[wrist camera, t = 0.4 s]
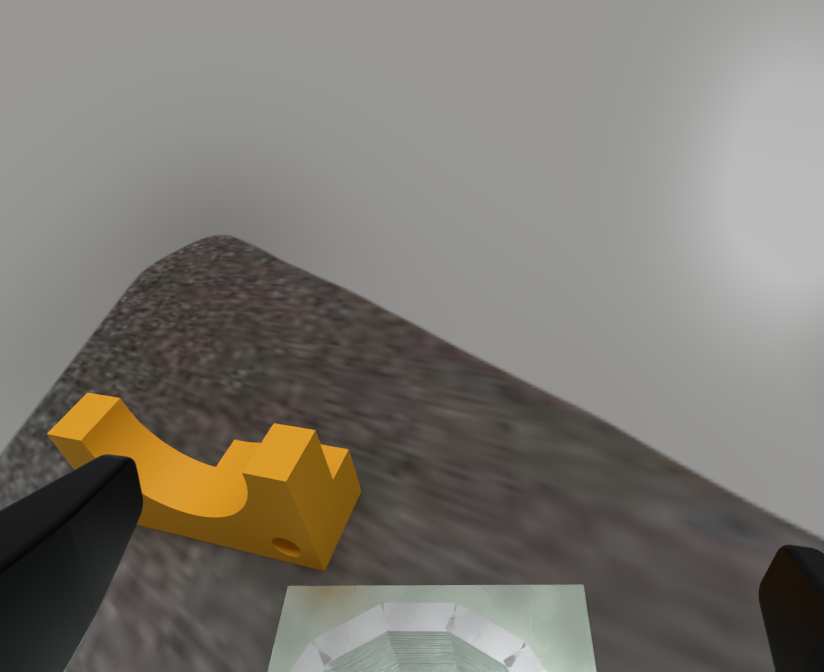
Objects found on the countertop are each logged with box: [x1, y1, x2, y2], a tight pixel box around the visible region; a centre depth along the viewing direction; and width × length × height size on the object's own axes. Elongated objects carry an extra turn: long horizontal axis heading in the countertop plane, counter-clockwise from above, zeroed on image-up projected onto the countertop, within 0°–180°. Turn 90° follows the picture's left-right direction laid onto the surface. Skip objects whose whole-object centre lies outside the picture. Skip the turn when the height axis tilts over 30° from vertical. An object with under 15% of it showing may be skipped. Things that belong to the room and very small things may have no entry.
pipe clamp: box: [47, 393, 361, 571], centre depth 28 cm, size 12×4×6 cm, turn 71°
